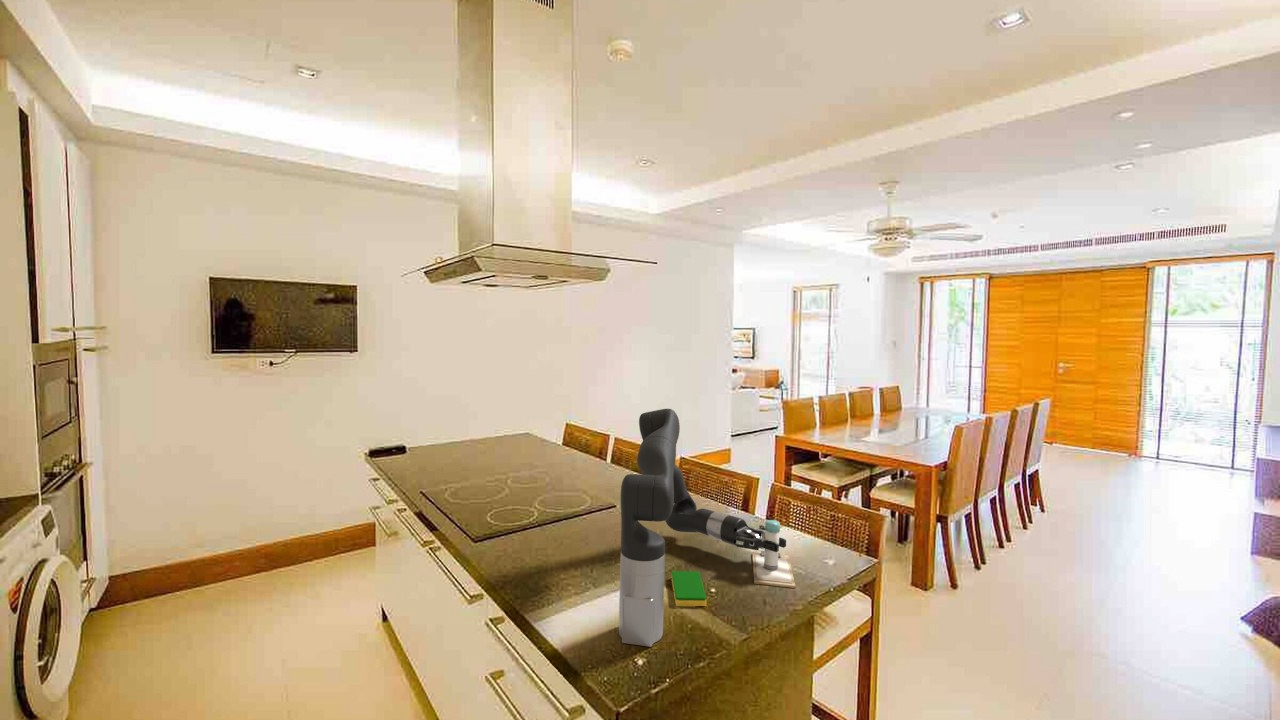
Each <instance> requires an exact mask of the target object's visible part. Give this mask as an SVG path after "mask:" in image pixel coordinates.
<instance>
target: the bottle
mask: <svg viewBox="0 0 1280 720" xmlns="http://www.w3.org/2000/svg"><path fill="white" fill-rule="evenodd" d="M764 523H765V524H764V526H765V540H769V541H772V542H775V543H778V544H779V537H780V531H781V522H779V521H778V520H775V519H768V520H767V519H766V520H765V522H764ZM764 551H765V554H764V567H765V568H767V569H770V570H775V569H777V568H778V553H780V552H779V551H778V552H774V551H771V550H768V549H765V548H764Z"/></svg>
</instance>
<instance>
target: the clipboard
mask: <svg viewBox="0 0 1280 720" xmlns="http://www.w3.org/2000/svg"><path fill="white" fill-rule="evenodd" d="M764 554H765V550H763V551H762V550H761V551H760V552H753V551H752V569H753V582H754V583H753V584H755V585H756V584H757V585H763V586H764V585H765V586H772V587H781V588H791V589H796V583H795V579H794V574H793V570H792V565H791V561H790V556H789V555H785V554H784V555H783V554H781V552H778V568H777V569H775V570H770V569H767V568H765V567H764Z"/></svg>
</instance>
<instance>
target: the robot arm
mask: <svg viewBox="0 0 1280 720" xmlns="http://www.w3.org/2000/svg"><path fill="white" fill-rule="evenodd" d="M638 424H639V425H638V426H639V432H640V437H641V439H642V442H641V444H640V445H639V450H638V453H637V457H636V460H637V461H636V462H637V466H638V468H639V472H641V474H638V473H637V474H636V473H630V474H629V473H628V474H626V475H625V476H624V477H623V480H622V482H621V486H620V516H621V517H620V523H621V525H620V526H621V527H620V529H621V530H620V532H621V534H620V562H619V563H620V565H619V566H620V567H619V568H620V569H619V599H618V601H619V602H618V604H619V605H618V634H619V637H620V638H621V643H622V644H629V645H637V646H641V647H642V646H643V647H650V648H651V647H653V645H654V643H656V642H658V641H660V640H661V638H662V637H663V634H664V606H665V605H664V604H665V603H664V602H665V600H664V599H665V568H666V565H665V564H666V563H665V562H666V541H665V537H663V536H662V535H661V534H660V533H658V532H656V531H653V530H651V529H649V528H648V527H645V526H644V525H643V524H642V523H641V521H642V522H655V523H656V522H657V523H658V522H659V523H660V522H665V523H666V525H667V527H669V528H670V529H671V530H673V531H676V532H680V533H699V534H700V533H701V534H703V535H706V536H708V537H711V538H713V539H715V540H716V541H717V540H718V541H721V542H724V543H727V544H730V545H732V546H735V547H737V548H740V549H741V548H742V549H747V550H751V551H752V550H753V551H759V550H760V549H761V550H765V549H768V550H771V551H774V552H778V551H779V550H780V548H783V549H784V548H786V547H787V539H786V538H783V537H780V536H779V544H778V543H775V542H772V541H769V540H765V525H763V524H760V525H759V526H758V527H759V528H757V527H755V526H748V524H747V522H746V520H745V519H744V518H740V517H738V516H734V515H730V514H727V513H724V512H718V511H715V510H714V511H713V510H710V509H707V508H703V507H702V508H699V509H697V503H696V502H695V501H694V499H693V498H692V495H691V494H690V492H689V491H688V489H687V485H686V482H685V478H684V475H683V472H682V470H681V468H680V467H679V466H678V465H677V464H676V461H677V460H676V459H677V443H678V441H679V438H680V437H679V436H680V428H681V427H680V420H679V417H678V415H677V413H676V411H675V410H674V409H672V408H662V409H661V408H660V409H657V410H652V411H651V410H650V411H646V412H644V413H641V414H640V415H639V419H638ZM778 553H779V552H778Z"/></svg>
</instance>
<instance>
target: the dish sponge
mask: <svg viewBox="0 0 1280 720" xmlns="http://www.w3.org/2000/svg"><path fill="white" fill-rule="evenodd" d="M670 577H671V578H672V579H671V585H672V591H674V592H673V597H674V603H675V604H676V605H675V606H676V607H695V606H705V607H707V595H706V591H705V587H704V584H703V580H702V576H701V573H700V571H697V570H694V571H693V570H690V571H689V570H688V571H687V570H684V571H683V570H681V571H680V570H672V571H671V576H670Z"/></svg>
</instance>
